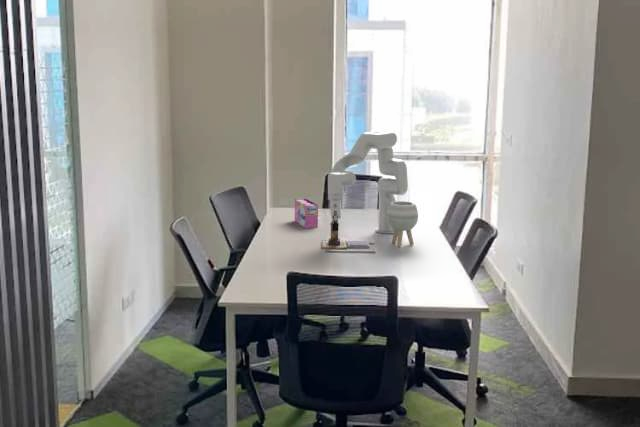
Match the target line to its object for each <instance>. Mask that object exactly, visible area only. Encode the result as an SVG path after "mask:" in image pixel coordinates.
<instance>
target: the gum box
mask: <svg viewBox="0 0 640 427" xmlns="http://www.w3.org/2000/svg"><path fill="white" fill-rule="evenodd" d="M294 222H296V223H297V224H298V223H299V225H300V226H301V225H302V227H303V228H304V227H305V229H315V228H316V227H317V228H319V205H318V204H317V203H315V202H313V201H311V200H309V199H307V198H304V199H294Z"/></svg>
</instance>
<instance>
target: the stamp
mask: <svg viewBox="0 0 640 427" xmlns="http://www.w3.org/2000/svg"><path fill="white" fill-rule="evenodd" d="M332 223H333V221H332V220H331V222H330V224H329V225H330V237H328V243H329V245H340V241H341V238H340V237H339V230H338V231H332ZM339 226H340V225H339V222H338V227H339Z"/></svg>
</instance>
